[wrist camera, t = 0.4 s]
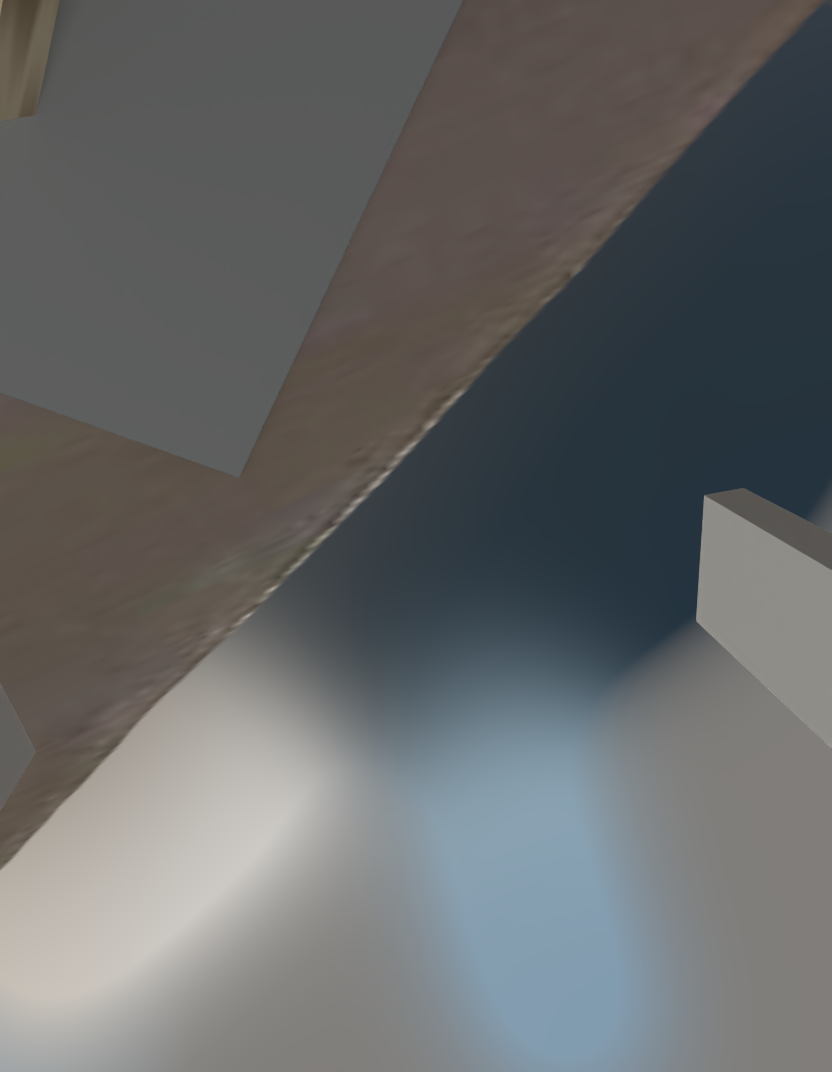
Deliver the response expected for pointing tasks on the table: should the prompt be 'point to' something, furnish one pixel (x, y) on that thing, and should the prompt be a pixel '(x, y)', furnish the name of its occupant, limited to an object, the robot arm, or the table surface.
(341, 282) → the table surface
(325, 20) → the rubber mat
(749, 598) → the robot arm
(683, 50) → the table surface
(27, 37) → the maple block
